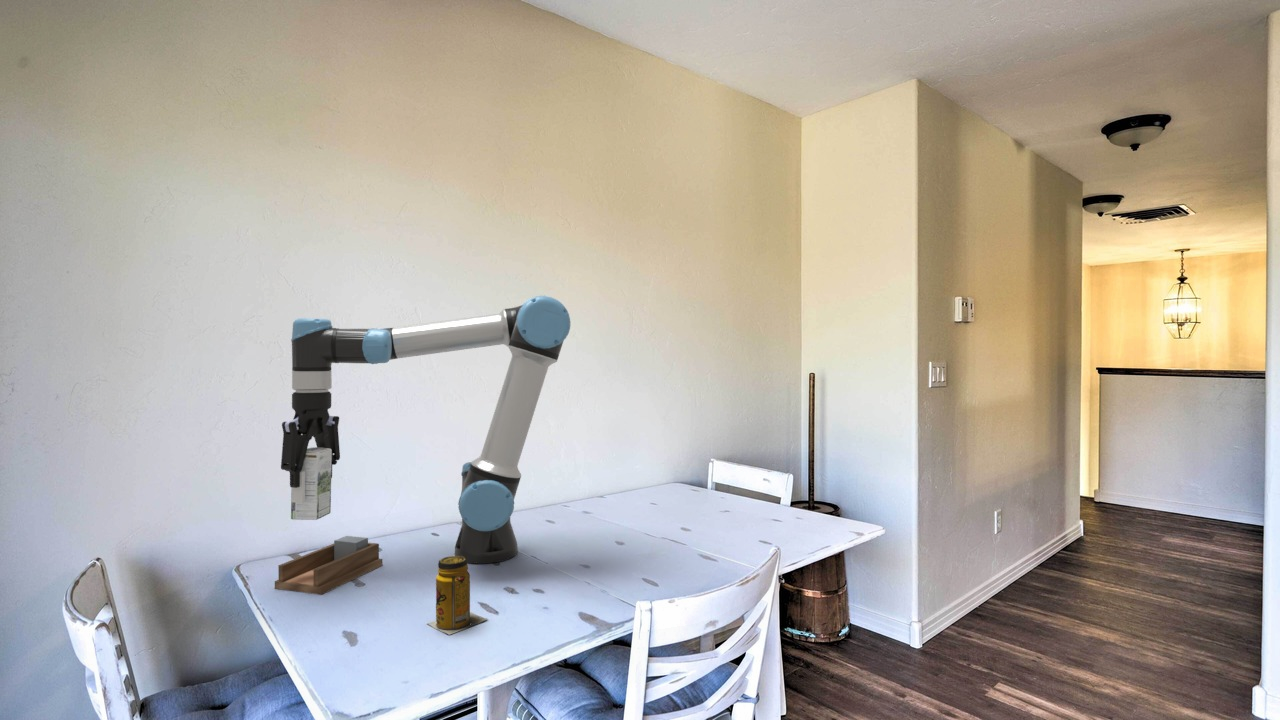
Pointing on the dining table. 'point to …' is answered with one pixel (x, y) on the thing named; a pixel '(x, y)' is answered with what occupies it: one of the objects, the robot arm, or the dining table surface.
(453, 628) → the condiment
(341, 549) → the slate block
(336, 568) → the walnut tray
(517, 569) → the dining table surface
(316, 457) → the syrup box
